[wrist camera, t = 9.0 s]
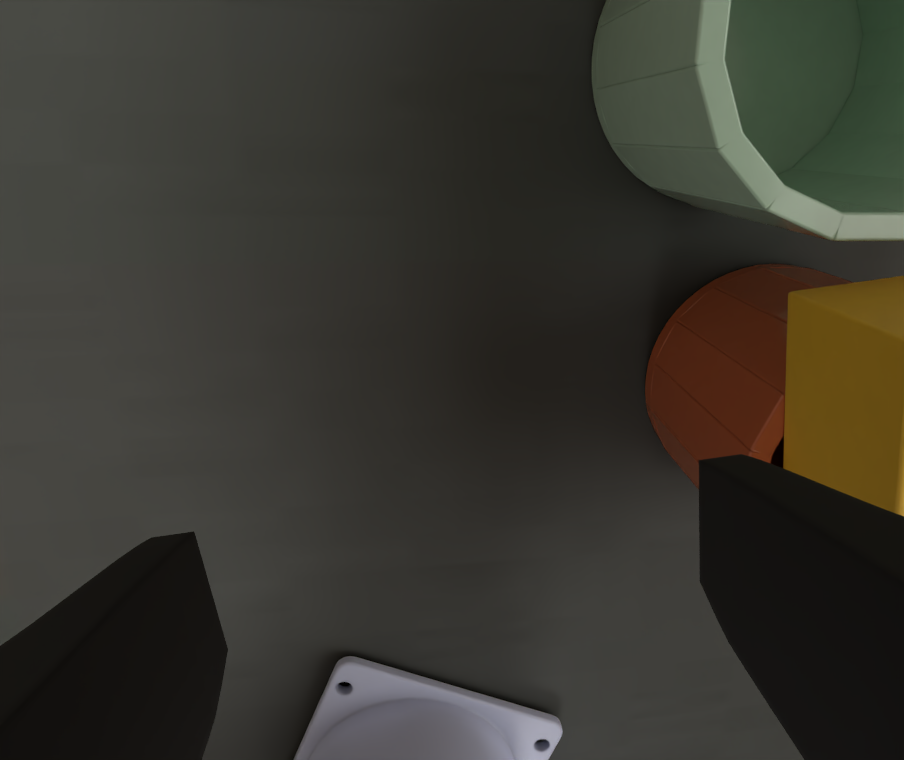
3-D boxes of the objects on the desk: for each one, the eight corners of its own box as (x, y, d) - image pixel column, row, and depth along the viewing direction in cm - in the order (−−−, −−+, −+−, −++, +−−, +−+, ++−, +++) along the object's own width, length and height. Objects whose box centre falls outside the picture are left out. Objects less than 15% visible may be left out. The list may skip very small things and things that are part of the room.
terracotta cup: (792, 507, 22) (938, 647, 16) (605, 436, 21) (687, 558, 15) (911, 315, 21) (1125, 391, 14) (714, 226, 19) (857, 268, 13)
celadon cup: (774, 244, 20) (960, 300, 13) (544, 140, 18) (622, 144, 12) (918, -20, 18) (1222, -110, 11) (673, -156, 17) (852, -350, 10)
